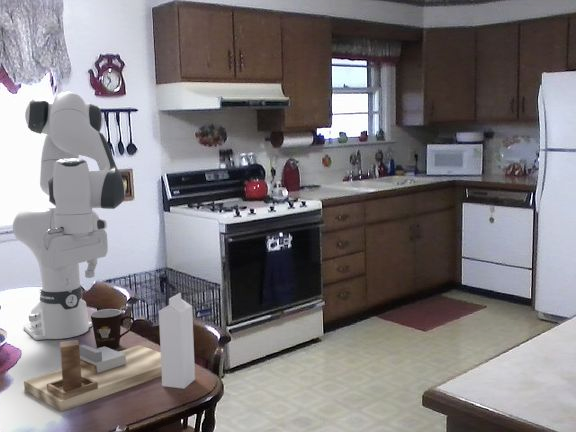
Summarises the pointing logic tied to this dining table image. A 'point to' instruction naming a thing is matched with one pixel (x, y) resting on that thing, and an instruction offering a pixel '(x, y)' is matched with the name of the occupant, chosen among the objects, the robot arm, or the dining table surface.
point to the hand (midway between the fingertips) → (77, 281)
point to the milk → (177, 343)
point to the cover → (102, 357)
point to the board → (97, 379)
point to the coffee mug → (108, 327)
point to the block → (70, 365)
